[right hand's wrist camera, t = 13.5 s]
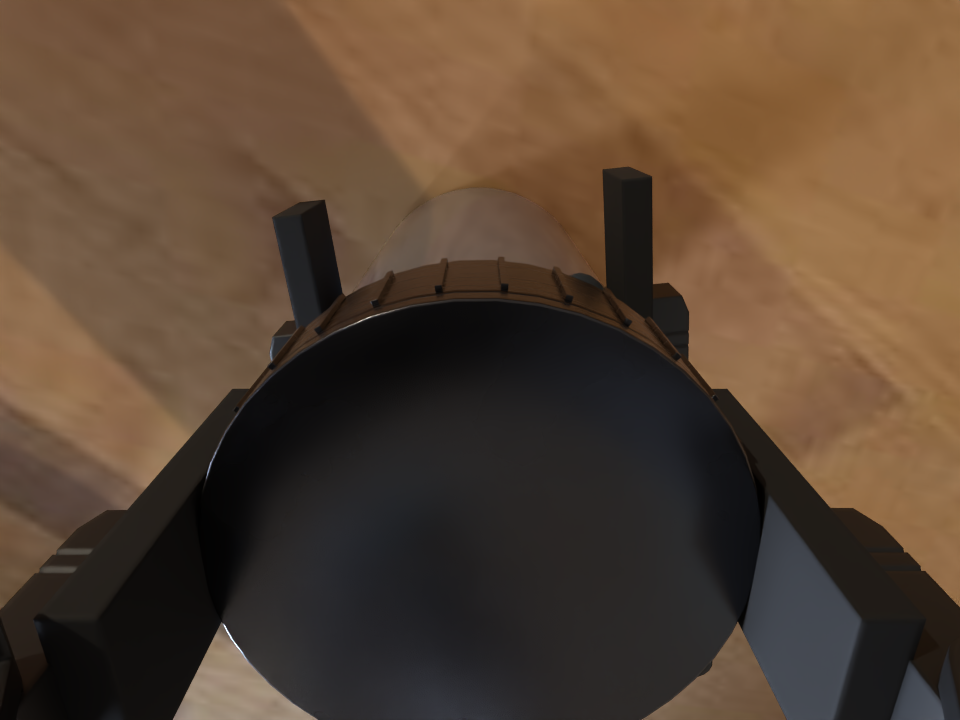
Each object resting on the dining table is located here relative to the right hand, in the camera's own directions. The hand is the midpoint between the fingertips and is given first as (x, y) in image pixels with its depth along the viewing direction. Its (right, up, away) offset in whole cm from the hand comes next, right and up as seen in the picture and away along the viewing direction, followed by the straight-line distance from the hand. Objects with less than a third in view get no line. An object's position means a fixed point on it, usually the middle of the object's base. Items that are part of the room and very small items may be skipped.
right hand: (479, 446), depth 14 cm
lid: (0, -1, -3) cm, 4 cm away
